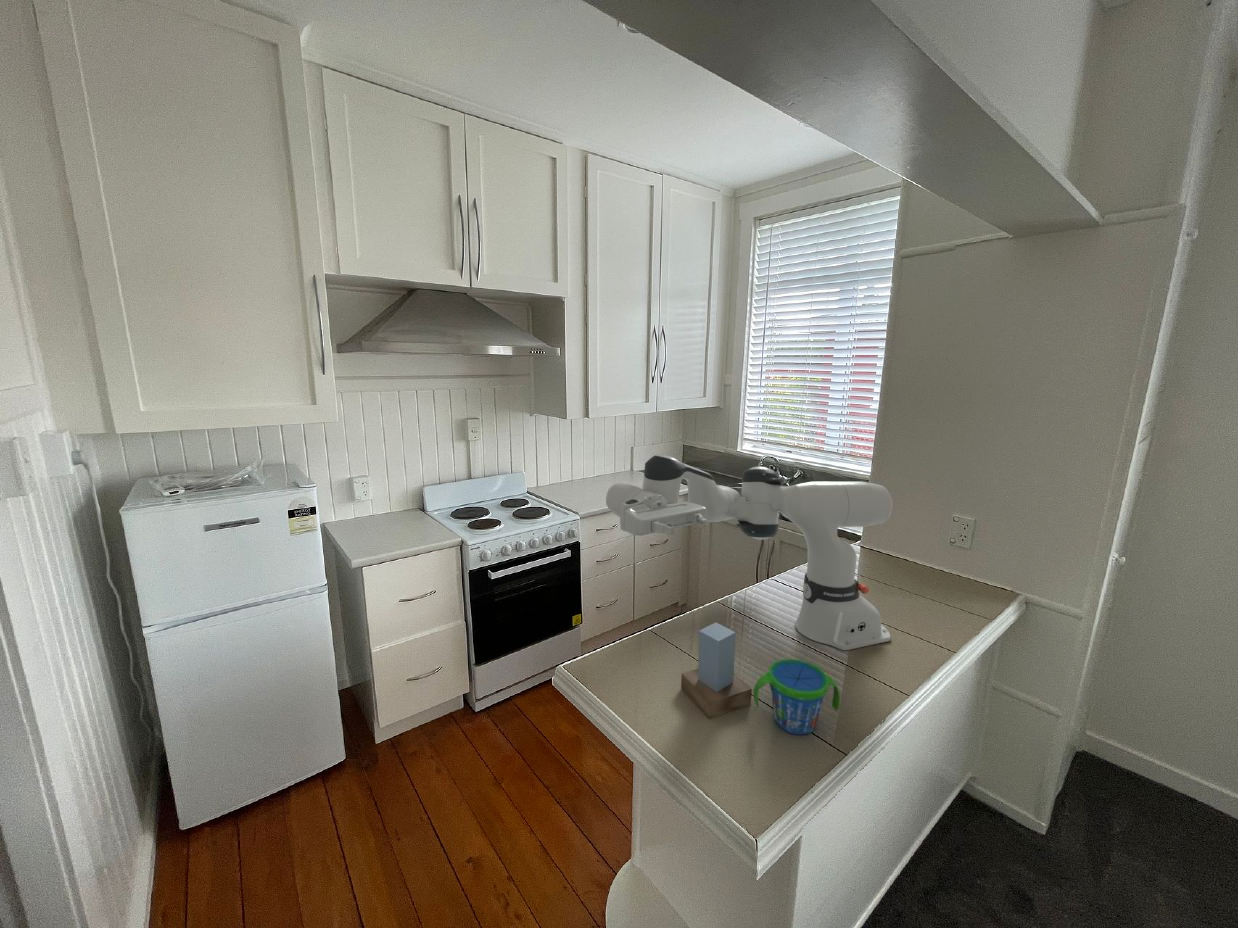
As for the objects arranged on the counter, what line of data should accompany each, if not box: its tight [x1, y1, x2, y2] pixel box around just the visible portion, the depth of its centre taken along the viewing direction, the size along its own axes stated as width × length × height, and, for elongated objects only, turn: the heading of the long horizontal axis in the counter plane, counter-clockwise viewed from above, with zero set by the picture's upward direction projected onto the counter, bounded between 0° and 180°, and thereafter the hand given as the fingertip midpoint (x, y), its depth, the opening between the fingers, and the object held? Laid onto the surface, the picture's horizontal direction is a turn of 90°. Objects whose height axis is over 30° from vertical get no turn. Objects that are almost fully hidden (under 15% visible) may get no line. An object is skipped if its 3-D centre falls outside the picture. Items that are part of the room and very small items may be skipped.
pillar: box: [697, 622, 736, 692], centre depth 101 cm, size 5×5×11 cm
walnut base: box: [680, 668, 753, 720], centre depth 103 cm, size 10×10×4 cm
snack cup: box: [753, 658, 841, 735], centre depth 95 cm, size 16×10×10 cm
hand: (688, 527), depth 109 cm, fingers open, 8 cm apart
